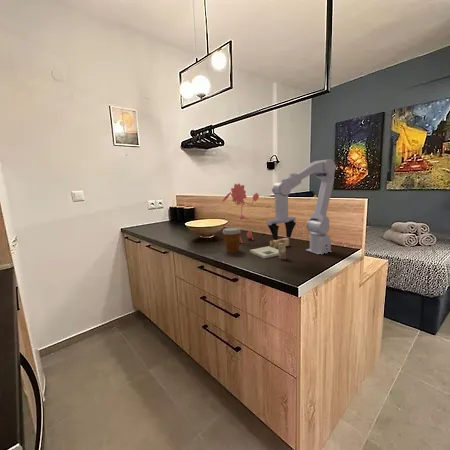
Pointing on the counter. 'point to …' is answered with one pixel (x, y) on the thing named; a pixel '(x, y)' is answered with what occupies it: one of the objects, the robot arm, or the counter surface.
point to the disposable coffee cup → (232, 239)
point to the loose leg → (282, 250)
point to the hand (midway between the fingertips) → (282, 238)
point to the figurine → (238, 196)
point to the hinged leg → (275, 242)
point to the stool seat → (265, 252)
